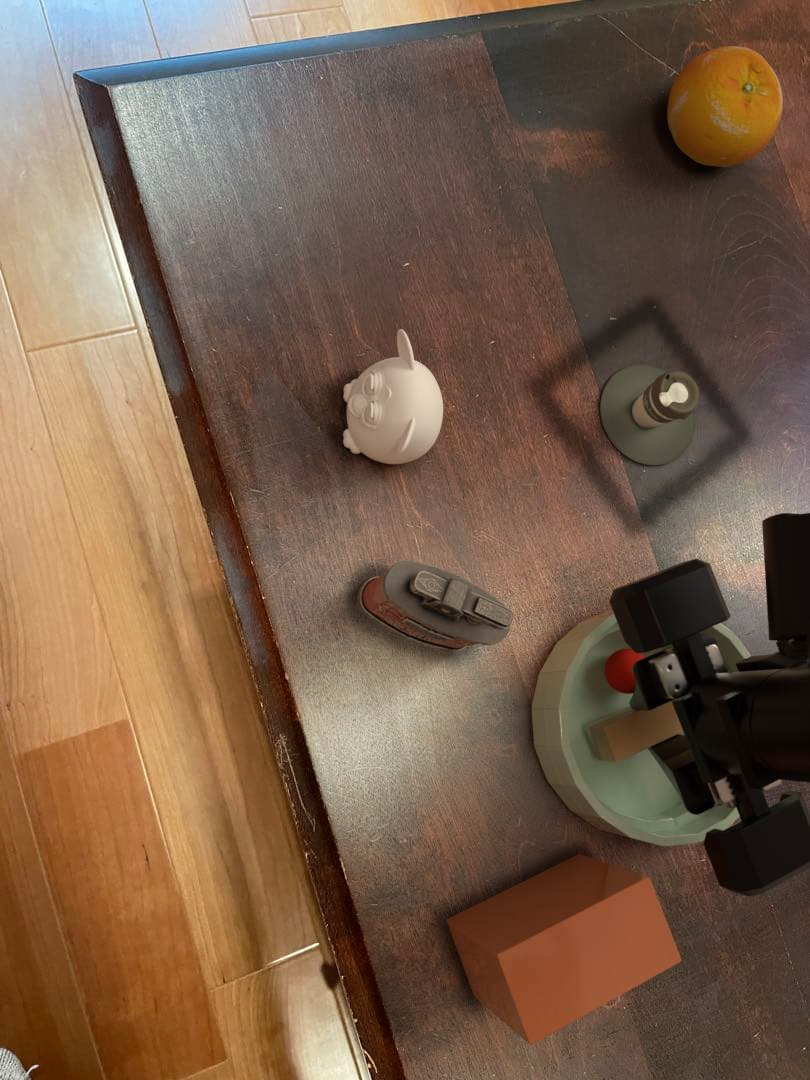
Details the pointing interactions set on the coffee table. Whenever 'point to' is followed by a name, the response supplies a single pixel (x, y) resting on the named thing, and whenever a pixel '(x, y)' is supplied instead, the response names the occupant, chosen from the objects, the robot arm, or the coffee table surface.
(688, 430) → the coffee cup
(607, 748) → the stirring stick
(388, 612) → the lighter
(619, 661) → the tomato ball
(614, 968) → the rectangular block
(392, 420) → the figurine
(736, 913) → the coffee table surface
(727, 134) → the fruit
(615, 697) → the bowl
